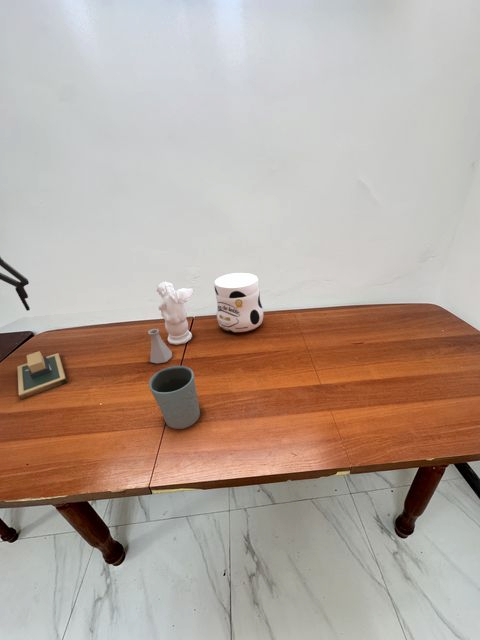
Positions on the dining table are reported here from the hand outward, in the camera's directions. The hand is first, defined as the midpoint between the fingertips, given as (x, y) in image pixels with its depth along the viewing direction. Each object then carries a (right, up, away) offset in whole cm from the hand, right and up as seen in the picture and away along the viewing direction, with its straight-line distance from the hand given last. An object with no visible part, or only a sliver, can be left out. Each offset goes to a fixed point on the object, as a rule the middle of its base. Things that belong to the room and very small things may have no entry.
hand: (0, 316), depth 85 cm
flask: (+43, -13, +11) cm, 46 cm away
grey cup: (+56, -26, -11) cm, 63 cm away
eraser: (+6, -16, +8) cm, 18 cm away
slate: (+7, -18, +7) cm, 21 cm away
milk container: (+68, -1, +27) cm, 73 cm away
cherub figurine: (+48, -6, +21) cm, 53 cm away
